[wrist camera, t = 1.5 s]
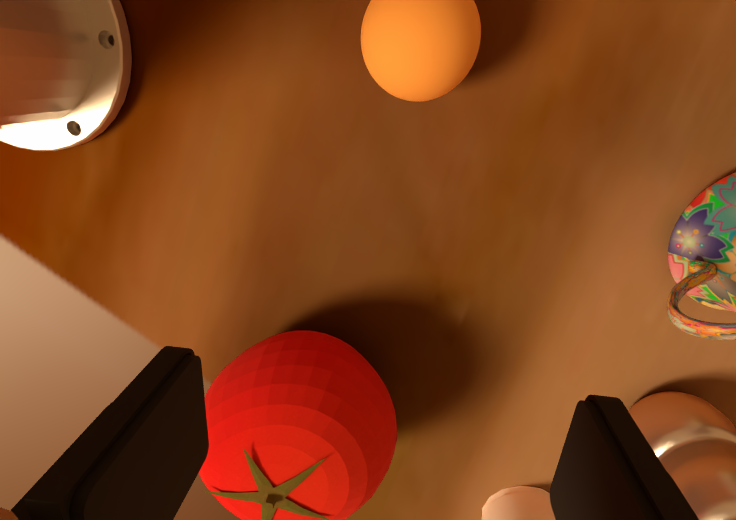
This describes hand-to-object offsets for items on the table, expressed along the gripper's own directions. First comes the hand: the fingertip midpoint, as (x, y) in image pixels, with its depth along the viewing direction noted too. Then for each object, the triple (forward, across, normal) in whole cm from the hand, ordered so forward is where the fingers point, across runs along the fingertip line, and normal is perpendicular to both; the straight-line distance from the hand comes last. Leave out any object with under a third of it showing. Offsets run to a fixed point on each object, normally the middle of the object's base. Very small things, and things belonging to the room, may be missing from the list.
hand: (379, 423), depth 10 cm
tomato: (+18, +5, +13) cm, 23 cm away
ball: (+15, 0, -9) cm, 18 cm away
